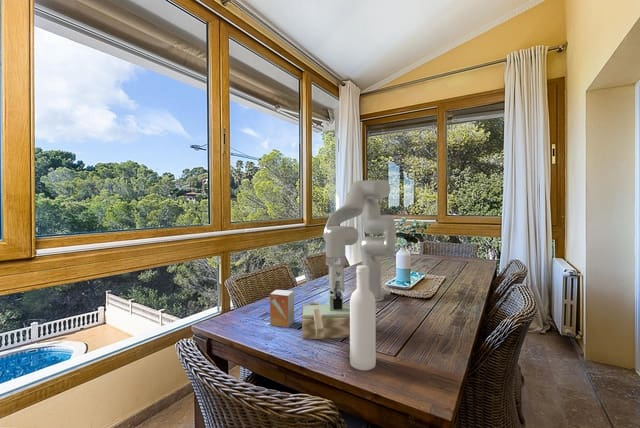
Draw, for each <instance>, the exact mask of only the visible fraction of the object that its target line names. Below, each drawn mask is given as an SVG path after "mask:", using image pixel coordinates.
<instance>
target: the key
mask: <svg viewBox="0 0 640 428" xmlns="http://www.w3.org/2000/svg"><path fill="white" fill-rule="evenodd" d="M314 322H315V329H316V335H317V339H318V338H322V339H325V338H324V328H323V324H322V319H321V314H320V309H314ZM317 339H316V340H317ZM318 340H319V339H318Z"/></svg>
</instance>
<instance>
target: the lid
mask: <svg viewBox="0 0 640 428" xmlns="http://www.w3.org/2000/svg"><path fill="white" fill-rule="evenodd" d="M333 298H334V294H330V293H329V294H328V304H319V305H309V304H307V305H306V304H304V305H302V306H301V309H302V308H303V319H311V315H314V309H320V314H321V315H322V318H336V317H350V303H344V295H343V294H342V309H338V310H334V309H333Z"/></svg>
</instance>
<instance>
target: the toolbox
mask: <svg viewBox="0 0 640 428" xmlns="http://www.w3.org/2000/svg"><path fill="white" fill-rule="evenodd" d="M308 305H320V302H318V301H317V302H308ZM321 319H322V324H323V328H324V338H318V340H321V339H336V338H337V339H338V338H341V339H342V338H344V339H345V338H350V317H336V318H322V315H321ZM301 325H302V326H301V329H302V340H312V339H313V340H317V335H316V329H315V322H314V315H311V319H303V308H302V307H301Z"/></svg>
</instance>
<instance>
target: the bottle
mask: <svg viewBox="0 0 640 428" xmlns="http://www.w3.org/2000/svg"><path fill="white" fill-rule="evenodd" d="M355 272H356V289H355V290H353V292H351V295H350V299H349V304H350V337H349V364H350V365H351V367H352V368H354V369H356V370H358V371H371V370H372V369H374V368H375V367H376V366H377V365H376V361H377V353H376V352H377V351H376V348H377V347H376V344H377V343H376V341H377V340H376V338H377V337H376V335H377V334H376V333H377V330H376V328H377V327H376V321H377V320H376V316H377V315H376V313H377V312H376V309H377V308H376V305H377V302H376V300H375V297H374V294H373V293H372V292H371V291H370V290H369V267H368V266H365V265H362V264H360V265H357V266H356V270H355Z"/></svg>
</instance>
